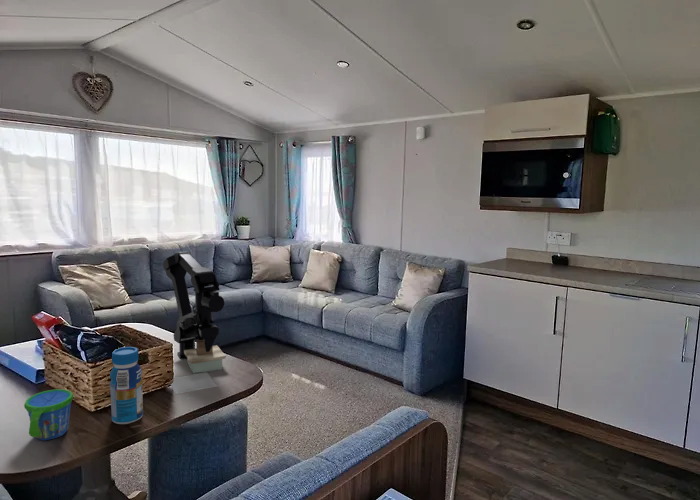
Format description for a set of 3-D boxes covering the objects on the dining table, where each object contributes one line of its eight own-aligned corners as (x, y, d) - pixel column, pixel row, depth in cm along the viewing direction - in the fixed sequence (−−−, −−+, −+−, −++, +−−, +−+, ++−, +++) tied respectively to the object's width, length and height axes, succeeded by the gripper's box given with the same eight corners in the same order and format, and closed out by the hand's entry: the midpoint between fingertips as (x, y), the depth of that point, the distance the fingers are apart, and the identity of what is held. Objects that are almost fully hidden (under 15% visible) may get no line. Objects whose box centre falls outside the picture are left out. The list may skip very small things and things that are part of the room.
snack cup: (52, 451, 117) (50, 412, 116) (10, 449, 118) (7, 411, 116) (87, 419, 133) (86, 385, 131) (50, 418, 133) (48, 384, 132)
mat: (168, 380, 160) (168, 378, 160) (207, 373, 167) (207, 372, 167) (175, 395, 149) (175, 394, 149) (216, 387, 156) (216, 386, 156)
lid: (184, 352, 173) (183, 338, 172) (217, 347, 179) (216, 333, 178) (191, 364, 163) (190, 348, 162) (225, 358, 169) (225, 343, 168)
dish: (187, 365, 173) (187, 353, 173) (215, 360, 178) (214, 349, 178) (193, 375, 165) (193, 362, 164) (222, 370, 170) (222, 358, 169)
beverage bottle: (104, 420, 133) (101, 352, 130) (130, 408, 140) (128, 343, 137) (124, 428, 129) (121, 358, 126) (150, 415, 136) (148, 348, 133)
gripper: (175, 301, 172) (176, 342, 175) (185, 315, 156) (186, 360, 159) (206, 298, 178) (206, 338, 180) (219, 311, 162) (220, 354, 164)
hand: (204, 347), depth 171 cm, fingers open, 9 cm apart
